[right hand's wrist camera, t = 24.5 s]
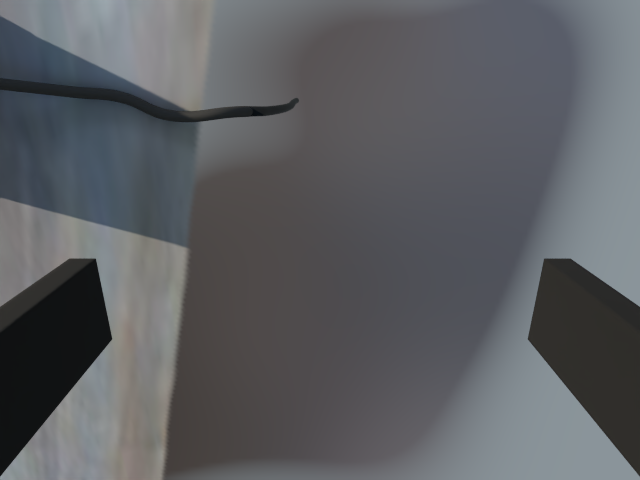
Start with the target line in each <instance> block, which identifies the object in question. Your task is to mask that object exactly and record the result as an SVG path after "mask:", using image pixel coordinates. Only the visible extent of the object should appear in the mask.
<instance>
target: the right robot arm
mask: <svg viewBox="0 0 640 480" xmlns="http://www.w3.org/2000/svg"><path fill="white" fill-rule="evenodd" d="M0 90H9V91H18V92H27V93H36V94H45V95H55V96H64V97H73V98H85V99H102V100H110V101H116V102H120V103H124V104H127V105H130V106H132V107H135V108H137V109H139V110H141V111H143V112H145V113H147V114H149V115H151V116H154V117H157V118H160V119H163V120H168V121H175V122H200V121H208V120H215V119H223V118H233V117H252V116H269V115H275V114H280V113H284V112H287V111H289V110H291V109H293V108H294V106H295V105H296V104H297V103H298V102H299V99H298V98H294V99H293V100H291V101H290V102H289V103H287V104H283V105H276V106H236V107H223V108H215V109H208V110H200V111H172V110H166V109H162V108H159V107H157V106H154V105H152V104H150V103H148V102H146V101H144V100H142V99H140V98H138V97H135V96H133V95H130V94H127V93H124V92H120V91H115V90H110V89H101V88H84V87H72V86H63V85H54V84H46V83H37V82H28V81H19V80H11V79H2V78H0ZM111 340H112V336H111V331H110V326H109V321H108V316H107V312H106V307H105V302H104V297H103V292H102V287H101V282H100V277H99V272H98V267H97V262H96V259H68V260H67V261H66V262H64V263H63V264H61V265H60V266H58V267H57V268H55V269H54V270H53V271H51V272H50V273H48V274H47V275H45V276H44V277H43V278H41V279H40V280H38V281H37V282H35V283H34V284H32V285H31V286H30V287H28V288H27V289H25V290H24V291H22V292H21V293H20V294H18V295H17V296H15V297H14V298H12V299H11V300H9V301H8V302H7V303H5V304H4V305H2V306H1V307H0V476H1V475H2V474H3V472H4V471H5V470H6V469H7V467H8V466H9V465H10V464H11V462H12V461H13V460H14V459H15V458H16V456H17V455H18V454H19V453H20V451H21V450H22V449H23V448H24V447H25V445H26V444H27V443H28V442H29V440H30V439H31V438H32V437H33V436H34V434H35V433H36V432H37V431H38V429H39V428H40V427H41V426H42V424H43V423H44V422H45V421H46V420H47V418H48V417H49V416H50V415H51V413H52V412H53V411H54V410H55V409H56V407H57V406H58V405H59V404H60V402H61V401H62V400H63V399H64V398H65V396H66V395H67V394H68V393H69V391H70V390H71V389H72V388H73V387H74V385H75V384H76V383H77V382H78V380H79V379H80V378H81V377H82V375H83V374H84V373H85V372H86V371H87V369H88V368H89V367H90V366H91V364H92V363H93V362H94V361H95V360H96V358H97V357H98V356H99V355H100V353H101V352H102V351H103V350H104V349H105V347H106V346H107V345H108V344H109V342H110V341H111ZM528 340H529V341H530V342H531V344H532V345H533V346H534V347H535V348H536V350H537V351H538V352H539V353H540V355H541V356H542V357H543V358H544V360H545V361H546V362H547V363H548V364H549V366H550V367H551V368H552V369H553V371H554V372H555V373H556V374H557V375H558V377H559V378H560V379H561V380H562V382H563V383H564V384H565V385H566V387H567V388H568V389H569V390H570V391H571V393H572V394H573V395H574V396H575V397H576V399H577V400H578V401H579V402H580V404H581V405H582V406H583V407H584V409H585V410H586V411H587V412H588V413H589V415H590V416H591V417H592V418H593V420H594V421H595V422H596V423H597V424H598V426H599V427H600V428H601V429H602V431H603V432H604V433H605V434H606V436H607V437H608V438H609V439H610V440H611V442H612V443H613V444H614V445H615V447H616V448H617V449H618V450H619V451H620V453H621V454H622V455H623V456H624V458H625V459H626V460H627V461H628V462H629V464H630V465H631V466H632V467H633V469H634V470H635V471H636V472H637V473H638V475H639V476H640V307H639V306H638V305H636V304H635V303H633V302H632V301H630V300H629V299H628V298H626V297H625V296H623V295H622V294H620V293H619V292H618V291H616V290H615V289H613V288H612V287H610V286H609V285H607V284H606V283H605V282H603V281H602V280H600V279H599V278H597V277H596V276H595V275H593V274H592V273H590V272H589V271H587V270H586V269H584V268H583V267H582V266H580V265H579V264H577V263H576V262H574V261H573V260H572V259H544V263H543V267H542V272H541V277H540V282H539V287H538V292H537V297H536V302H535V307H534V312H533V316H532V321H531V327H530V331H529V336H528Z"/></svg>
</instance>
